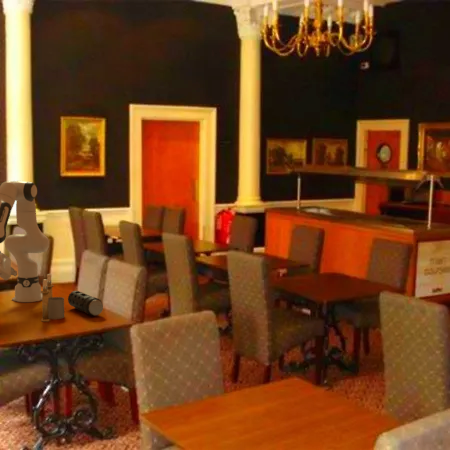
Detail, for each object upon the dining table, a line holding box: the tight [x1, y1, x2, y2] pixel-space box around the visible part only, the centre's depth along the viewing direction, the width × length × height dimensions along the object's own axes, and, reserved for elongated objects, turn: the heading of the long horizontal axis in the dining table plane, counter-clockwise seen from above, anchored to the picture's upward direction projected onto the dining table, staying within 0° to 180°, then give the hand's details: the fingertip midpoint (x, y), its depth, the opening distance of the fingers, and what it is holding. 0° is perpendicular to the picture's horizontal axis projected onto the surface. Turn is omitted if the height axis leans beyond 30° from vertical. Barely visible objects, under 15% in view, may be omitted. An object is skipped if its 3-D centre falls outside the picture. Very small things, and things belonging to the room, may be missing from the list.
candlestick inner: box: [46, 273, 54, 298], centre depth 376 cm, size 4×4×22 cm
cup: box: [48, 296, 65, 320], centre depth 369 cm, size 8×8×10 cm
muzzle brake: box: [67, 290, 104, 317], centre depth 380 cm, size 10×28×10 cm, turn 35°
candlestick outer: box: [40, 278, 51, 323], centre depth 360 cm, size 4×4×22 cm
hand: (16, 274), depth 374 cm, fingers closed
